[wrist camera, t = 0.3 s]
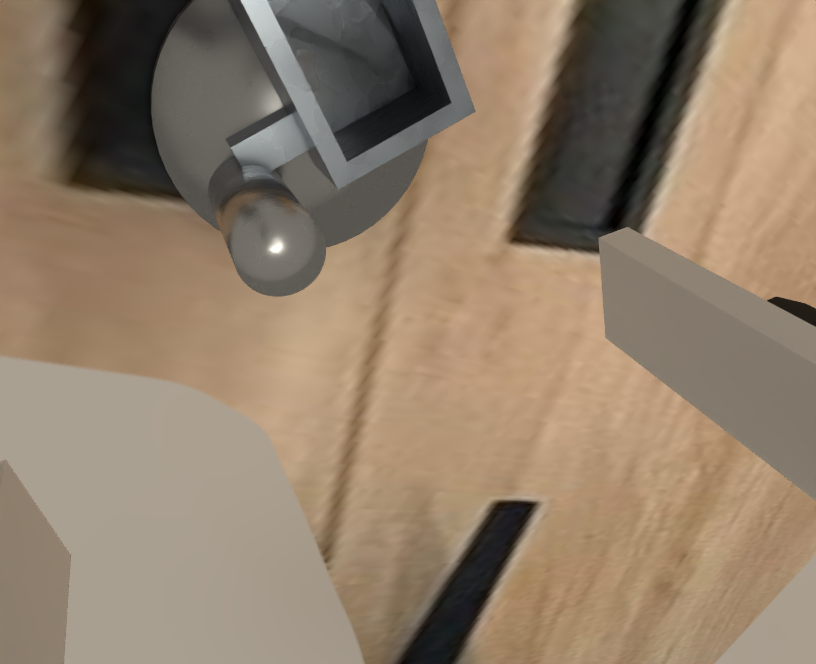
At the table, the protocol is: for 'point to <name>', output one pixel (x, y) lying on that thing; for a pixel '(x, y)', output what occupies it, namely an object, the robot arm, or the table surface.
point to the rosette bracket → (300, 121)
